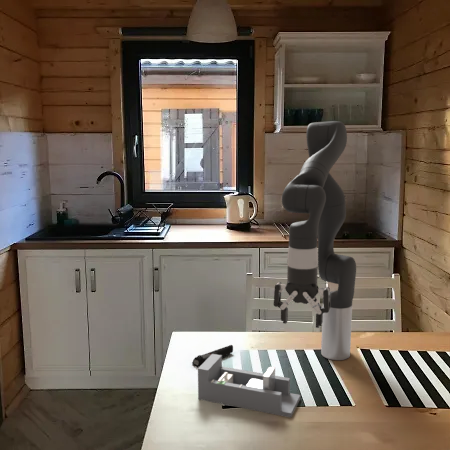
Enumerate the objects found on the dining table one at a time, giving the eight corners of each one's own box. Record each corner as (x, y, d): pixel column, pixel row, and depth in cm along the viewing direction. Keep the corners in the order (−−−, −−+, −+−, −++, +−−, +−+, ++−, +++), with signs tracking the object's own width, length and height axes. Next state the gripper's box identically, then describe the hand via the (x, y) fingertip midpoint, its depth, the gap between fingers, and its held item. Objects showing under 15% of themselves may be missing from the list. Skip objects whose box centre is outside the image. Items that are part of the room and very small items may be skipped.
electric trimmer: (236, 355, 175) (236, 346, 174) (198, 369, 165) (198, 359, 164) (228, 351, 178) (228, 342, 177) (191, 365, 168) (191, 355, 167)
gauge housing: (212, 382, 156) (212, 353, 154) (300, 399, 146) (301, 368, 145) (198, 399, 147) (197, 368, 145) (291, 417, 137) (291, 385, 136)
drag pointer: (226, 384, 152) (226, 367, 151) (233, 386, 151) (233, 368, 150) (215, 398, 144) (215, 380, 143) (222, 399, 144) (222, 381, 143)
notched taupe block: (251, 389, 149) (252, 363, 148) (274, 393, 147) (275, 367, 145) (244, 399, 144) (244, 373, 142) (268, 404, 141) (268, 377, 140)
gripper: (333, 262, 136) (331, 323, 139) (279, 257, 141) (278, 316, 144) (328, 270, 129) (326, 333, 132) (271, 265, 134) (270, 326, 137)
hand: (301, 324), depth 138 cm, fingers open, 8 cm apart
